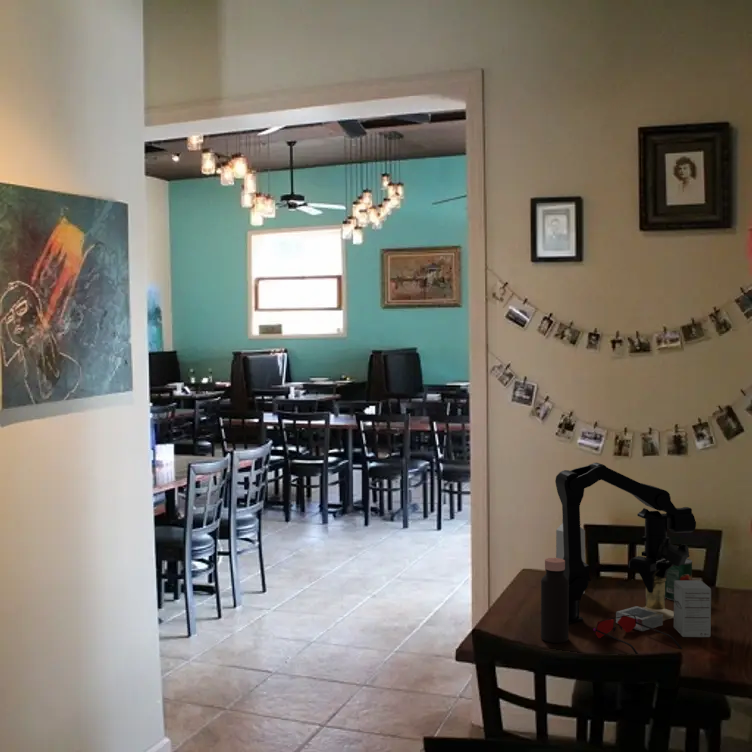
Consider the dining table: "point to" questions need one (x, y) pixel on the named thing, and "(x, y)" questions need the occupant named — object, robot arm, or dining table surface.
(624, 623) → the glasses
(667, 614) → the coaster
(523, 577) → the dining table surface
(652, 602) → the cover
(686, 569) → the canned tomato
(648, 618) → the housing
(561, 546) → the milk
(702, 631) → the supplement box
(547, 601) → the bottle
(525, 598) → the dining table surface
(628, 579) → the dining table surface
